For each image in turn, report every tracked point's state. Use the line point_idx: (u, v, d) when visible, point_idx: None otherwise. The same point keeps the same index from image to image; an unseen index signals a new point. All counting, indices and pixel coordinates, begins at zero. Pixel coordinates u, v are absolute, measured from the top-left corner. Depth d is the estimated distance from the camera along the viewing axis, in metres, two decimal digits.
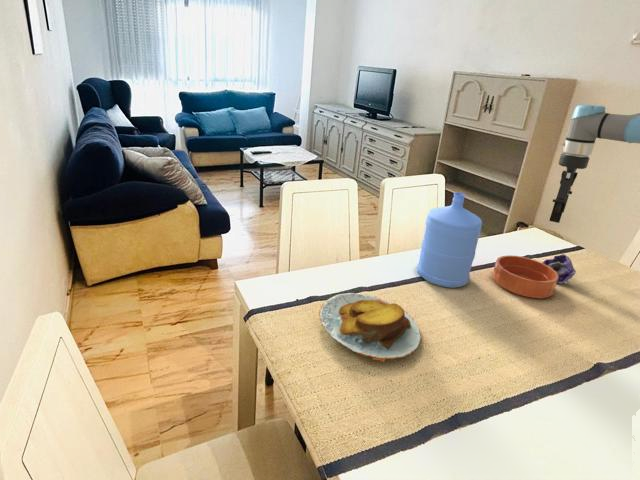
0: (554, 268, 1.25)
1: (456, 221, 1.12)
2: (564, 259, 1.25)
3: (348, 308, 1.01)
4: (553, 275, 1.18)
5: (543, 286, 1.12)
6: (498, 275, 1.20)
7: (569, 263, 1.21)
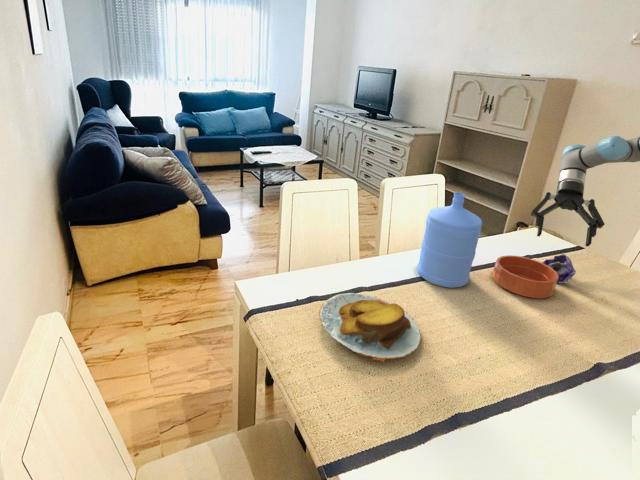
0: (554, 268, 1.25)
1: (456, 221, 1.12)
2: (564, 259, 1.25)
3: (348, 308, 1.01)
4: (553, 275, 1.18)
5: (543, 286, 1.12)
6: (498, 275, 1.20)
7: (569, 263, 1.21)
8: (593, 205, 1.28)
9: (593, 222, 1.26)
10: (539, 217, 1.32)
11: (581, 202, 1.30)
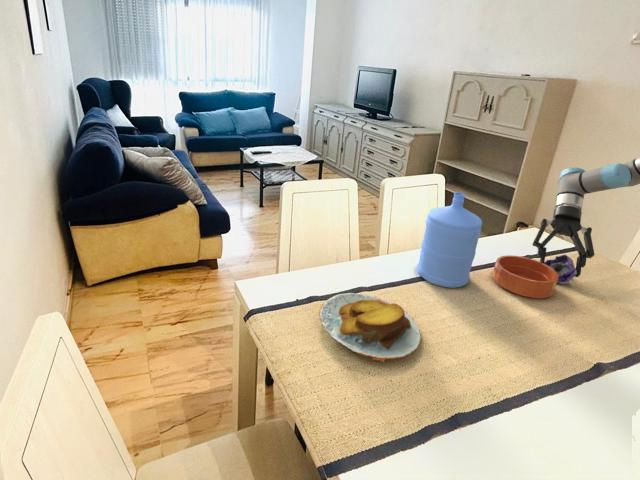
0: (556, 269, 1.25)
1: (456, 221, 1.12)
2: (565, 259, 1.25)
3: (348, 308, 1.01)
4: (553, 275, 1.18)
5: (543, 286, 1.12)
6: (498, 275, 1.20)
7: (571, 263, 1.21)
8: (589, 234, 1.24)
9: (583, 252, 1.22)
10: (542, 248, 1.27)
11: (577, 228, 1.26)
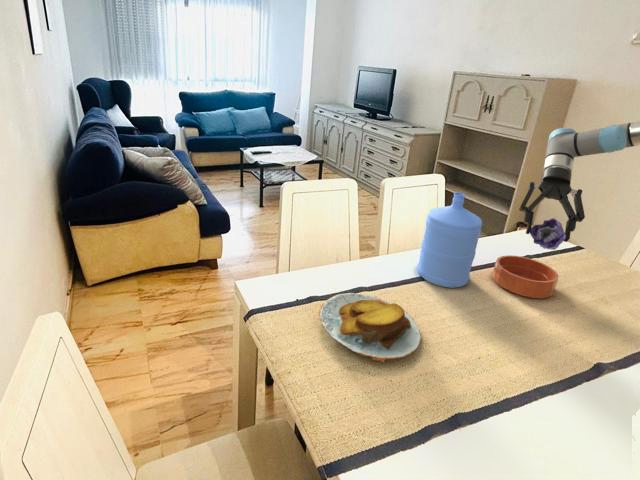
0: (544, 234, 1.16)
1: (456, 221, 1.12)
2: (554, 224, 1.16)
3: (348, 308, 1.01)
4: (553, 275, 1.18)
5: (543, 286, 1.12)
6: (498, 275, 1.20)
7: (559, 227, 1.13)
8: (579, 196, 1.15)
9: (573, 215, 1.13)
10: (529, 212, 1.18)
11: (567, 191, 1.17)
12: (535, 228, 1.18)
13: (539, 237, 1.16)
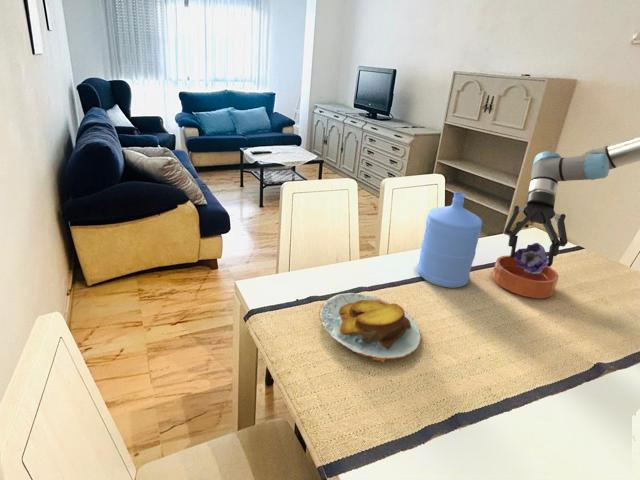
0: (528, 258, 1.18)
1: (456, 221, 1.12)
2: (538, 248, 1.17)
3: (348, 308, 1.01)
4: (553, 275, 1.18)
5: (543, 286, 1.12)
6: (498, 275, 1.20)
7: (542, 252, 1.14)
8: (562, 220, 1.16)
9: (556, 240, 1.15)
10: (513, 236, 1.19)
11: (551, 215, 1.18)
12: (519, 252, 1.19)
13: (523, 261, 1.17)
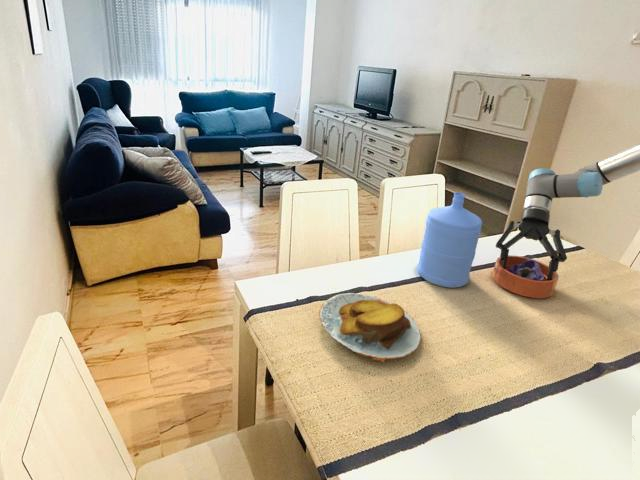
0: (523, 274, 1.20)
1: (456, 221, 1.12)
2: (533, 264, 1.19)
3: (348, 308, 1.01)
4: (553, 275, 1.18)
5: (543, 286, 1.12)
6: (498, 275, 1.20)
7: (537, 269, 1.16)
8: (558, 236, 1.19)
9: (555, 255, 1.16)
10: (504, 250, 1.22)
11: (546, 232, 1.20)
12: (515, 268, 1.21)
13: None
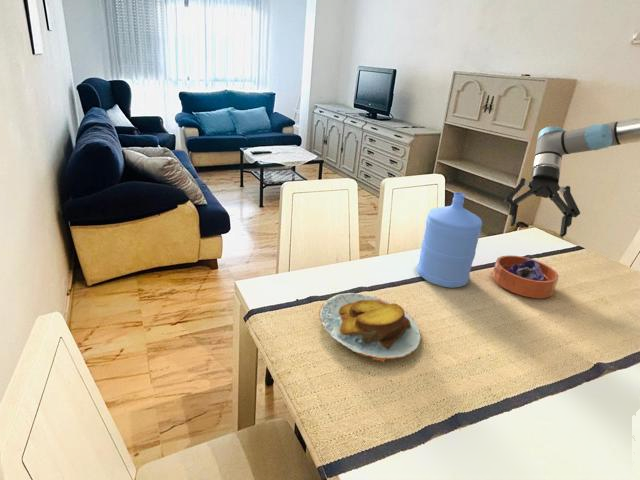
0: (523, 274, 1.20)
1: (456, 221, 1.12)
2: (533, 264, 1.19)
3: (348, 308, 1.01)
4: (553, 275, 1.18)
5: (543, 286, 1.12)
6: (498, 275, 1.20)
7: (537, 269, 1.16)
8: (569, 192, 1.20)
9: (568, 211, 1.17)
10: (513, 205, 1.23)
11: (556, 189, 1.21)
12: (515, 268, 1.21)
13: None
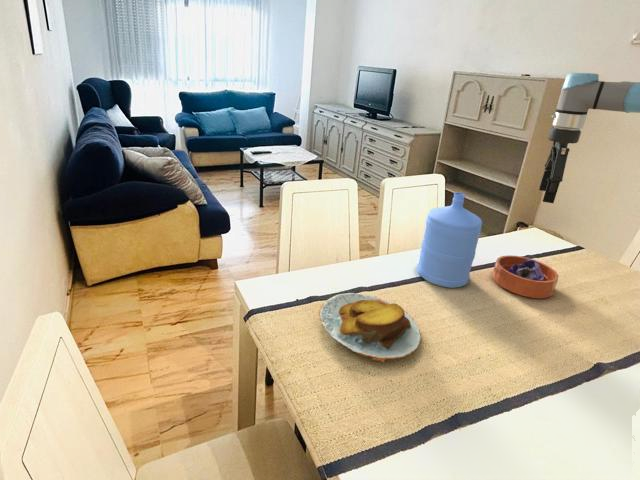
0: (523, 274, 1.20)
1: (456, 221, 1.12)
2: (533, 264, 1.19)
3: (348, 308, 1.01)
4: (553, 275, 1.18)
5: (543, 286, 1.12)
6: (498, 275, 1.20)
7: (537, 269, 1.16)
8: None
9: None
10: (557, 183, 1.12)
11: None
12: (515, 268, 1.21)
13: None
